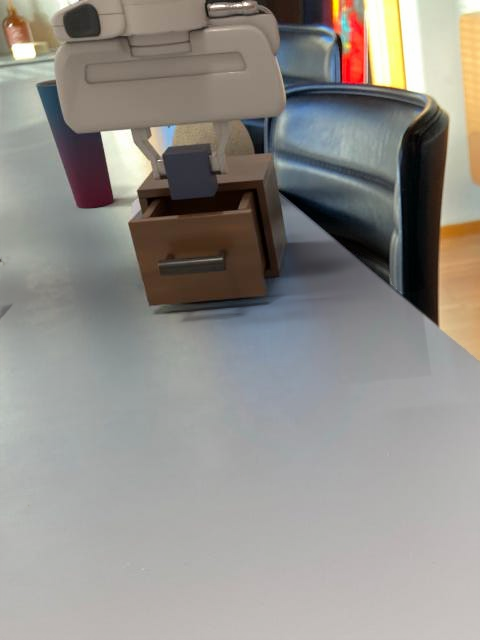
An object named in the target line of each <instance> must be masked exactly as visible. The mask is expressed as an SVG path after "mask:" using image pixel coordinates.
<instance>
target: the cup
mask: <svg viewBox="0 0 480 640" xmlns="http://www.w3.org/2000/svg"><path fill="white" fill-rule="evenodd" d="M35 87H36V90H37V92H38V95H39V98H40V101H41V105H42V107H43V111H44V113H45V116H46V119H47V121H48V122H47V123H48V125H49V127H50V131H51V133H52V137H53V139H54V142H55V146H56V149H57V151H58V154H59V157H60V161H61V163H62V166H63V169H64V172H65V175H66V178H67V181H68V183H69V186H70V189H71V193H72V195H73V199H74V202H75V205H76V207H78V208H81V209H93V208H100V207H105V206H109V205H111V204H113V203H114V202H115V198H114V193H113V188H112V183H111V178H110V174H109V173H110V172H109V168H108V163H107V157H106V153H105V147H104V143H103V137H102V132H92V133H80V134H78V133H76V132H74V131H73V130H72V129H71V128H70V127H69V126H68V125H67V124H66V122H65V120H64V117H63V114H62V110H61V105H60V101H59V96H58V90H57V85H56V78H55V79H49V80H43V81H39V82H37V83H36V84H35Z"/></svg>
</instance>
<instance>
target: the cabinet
mask: <svg viewBox="0 0 480 640" xmlns="http://www.w3.org/2000/svg"><path fill="white" fill-rule="evenodd" d="M226 162H227V167H228V172H227V174H220V175H216V177H217V181H218V186H219V187H218V189H217V191H216V192H222V191H234V190H246V189H255V190H256V195H257V201H258V206H259V212H260V217H261V223H262V229H263V234H264V240H265V245H266V251H267V261H266V265H265V268H264V272H263V274H264V279H268V278H269V279H270V278H280V276H281V273H282V272H281V271H282V267H283V262H284V259H285V254H286V250H287V245H288V239H287V232H286V227H285V220H284V215H283V213H284V212H283V208H282V201H281V197H280V191H279V185H278V179H277V178H278V177H277V172H276V167H275V161H274V155H273V152H265V153H255V154H253V155H241V156H229V157H226ZM136 194H137V198H139V203H140V207H141V211H142V215H143V214H144V213H145V211H146V210H147V209H148V207H149V206H150V204H151V203H152V201H153V200H154V199H155V197H164V196H171V193H170V189H169V184H168V180H167V179H162V180H155V178H154V174H153V170H151V171H150V173H149V174H148V176H147V177H146V178H145V179H144V180H143V182H141V184H140V186H139V187H138V188H137V190H136Z"/></svg>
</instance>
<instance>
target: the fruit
mask: <svg viewBox="0 0 480 640" xmlns="http://www.w3.org/2000/svg"><path fill="white" fill-rule="evenodd" d="M231 126H232V133H231V136H230V139H229V142H228V145H227V148H226V151H225V156H226V157H229V156H241V155H253V154H256V153H255V147H254V143H253V141H252V138H251V136H250V133H249V130H248V129H247V127H246V126H245V124H244V123H243V121H242V120H233V121H231ZM166 127H167V128H168V129H171V126H166ZM221 136H222V134H220V135H216V134H215V131H214V126H213V122H210V123H198V124H186V125H175V126H174V130H173V135H172V141H171V147H172V146H183V145H194V144H206V143H210V147H211V152H217V149H218V145H219V142H220V139H221Z"/></svg>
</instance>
